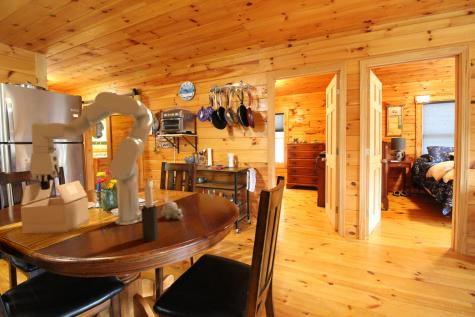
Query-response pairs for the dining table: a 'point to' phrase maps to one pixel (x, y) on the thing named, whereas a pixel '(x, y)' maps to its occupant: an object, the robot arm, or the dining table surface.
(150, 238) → the candle
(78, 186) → the flap
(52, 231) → the carton
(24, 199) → the flap
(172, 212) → the chubby cartoon animal
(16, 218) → the dining table surface
